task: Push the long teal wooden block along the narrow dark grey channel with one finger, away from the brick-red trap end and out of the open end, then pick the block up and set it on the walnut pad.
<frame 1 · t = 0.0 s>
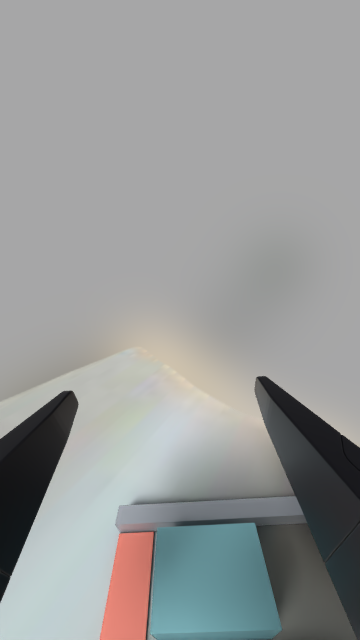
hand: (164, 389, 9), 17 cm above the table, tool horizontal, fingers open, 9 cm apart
channel: (273, 584, 14), on the table
teal block: (210, 587, 14), on the table
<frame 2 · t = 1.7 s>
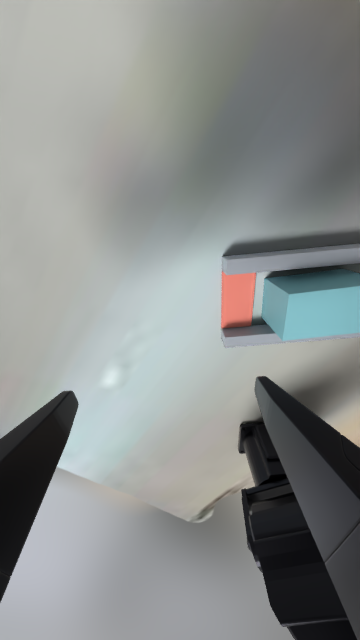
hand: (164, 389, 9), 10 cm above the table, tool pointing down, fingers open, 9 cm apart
channel: (348, 290, 18), on the table
teal block: (299, 293, 18), on the table
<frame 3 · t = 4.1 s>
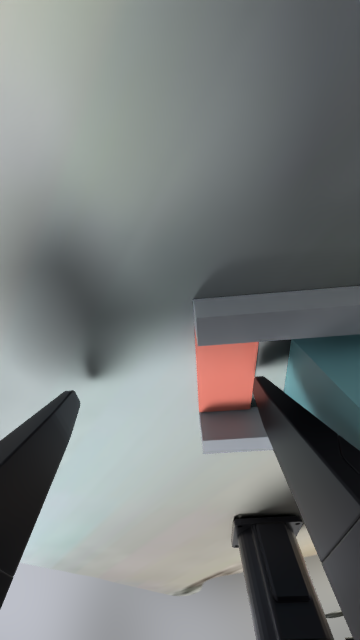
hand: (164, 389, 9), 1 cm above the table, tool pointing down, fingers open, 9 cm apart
teal block: (355, 361, 10), on the table, touching gripper
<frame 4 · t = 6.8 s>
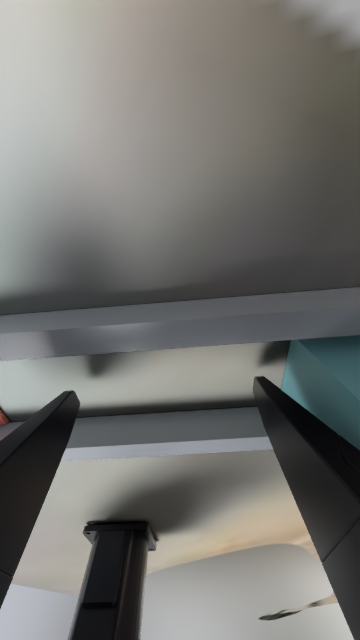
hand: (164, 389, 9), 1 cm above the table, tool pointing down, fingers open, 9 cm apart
channel: (144, 376, 10), on the table
teal block: (353, 360, 10), on the table, touching gripper
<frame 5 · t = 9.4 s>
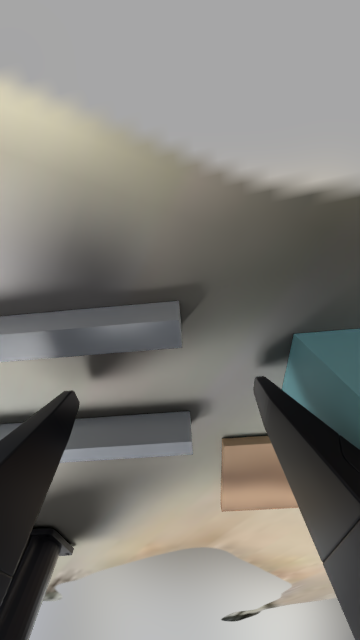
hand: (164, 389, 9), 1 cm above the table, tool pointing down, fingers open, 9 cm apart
teal block: (354, 360, 10), on the table, touching gripper
walnut pad: (284, 472, 15), on the table
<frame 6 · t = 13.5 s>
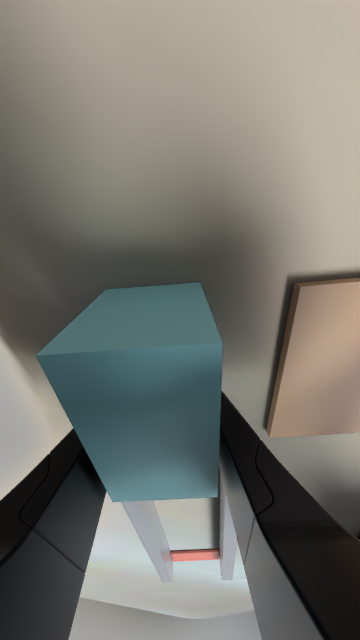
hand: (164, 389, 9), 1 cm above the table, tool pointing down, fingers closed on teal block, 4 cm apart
channel: (189, 520, 19), on the table
teal block: (162, 352, 10), on the table, touching gripper
when the fingers open (3 cm above the table, at t = 18.1 s): teal block drops 1 cm, resting on walnut pad.
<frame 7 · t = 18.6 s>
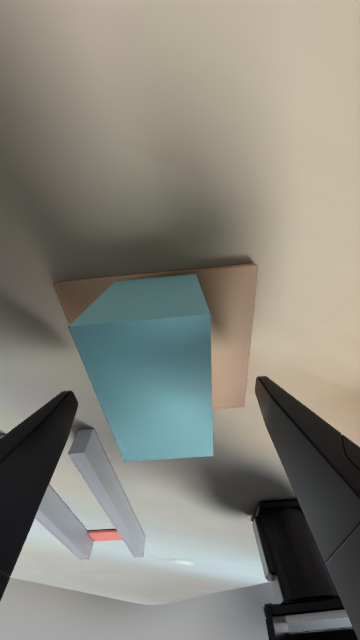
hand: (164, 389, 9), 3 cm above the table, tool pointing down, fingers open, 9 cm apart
channel: (88, 498, 21), on the table
teal block: (164, 338, 11), resting on walnut pad
walnut pad: (166, 352, 12), on the table
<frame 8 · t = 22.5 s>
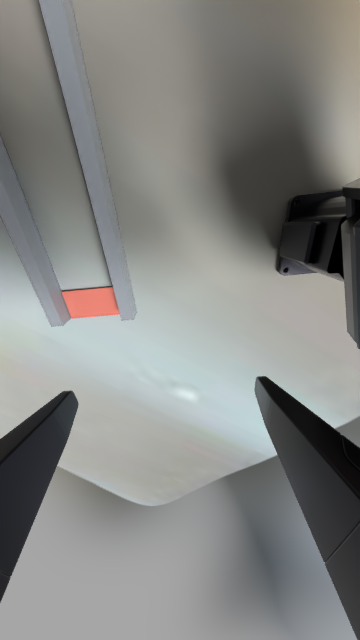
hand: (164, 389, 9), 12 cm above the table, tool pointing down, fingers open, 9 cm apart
channel: (56, 180, 15), on the table
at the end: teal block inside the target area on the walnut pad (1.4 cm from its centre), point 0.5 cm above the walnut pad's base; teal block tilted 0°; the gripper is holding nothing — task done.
